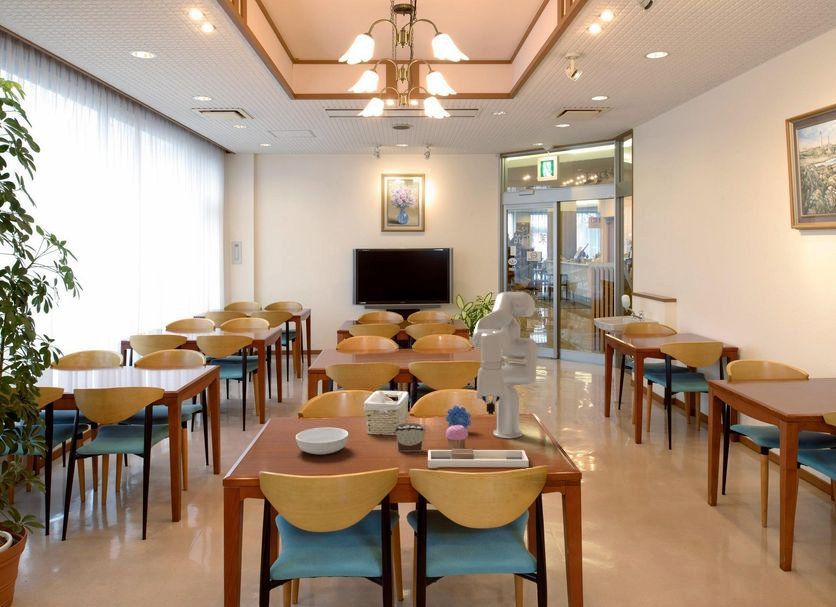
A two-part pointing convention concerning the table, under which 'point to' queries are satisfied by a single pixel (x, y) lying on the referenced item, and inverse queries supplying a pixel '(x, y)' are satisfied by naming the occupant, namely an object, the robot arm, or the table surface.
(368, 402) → the storage basket
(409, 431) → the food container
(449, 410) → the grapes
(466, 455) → the walnut block
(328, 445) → the serving bowl
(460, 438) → the cupcake
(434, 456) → the white tray
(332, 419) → the table surface
